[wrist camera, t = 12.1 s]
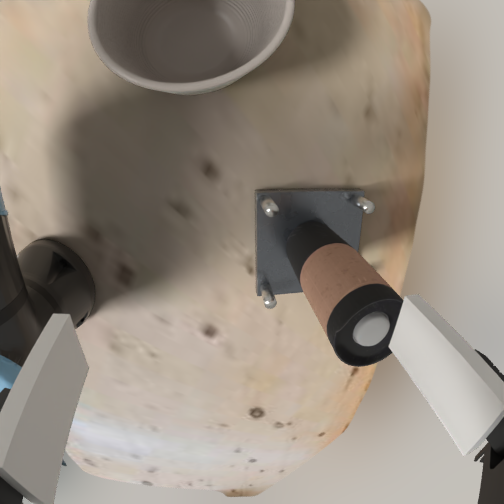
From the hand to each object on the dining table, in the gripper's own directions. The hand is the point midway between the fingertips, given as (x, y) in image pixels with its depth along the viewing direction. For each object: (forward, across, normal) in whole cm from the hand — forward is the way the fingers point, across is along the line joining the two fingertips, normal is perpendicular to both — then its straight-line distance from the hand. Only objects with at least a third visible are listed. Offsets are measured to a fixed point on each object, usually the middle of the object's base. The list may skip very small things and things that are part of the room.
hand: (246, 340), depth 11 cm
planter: (+31, -3, +18) cm, 36 cm away
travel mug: (+29, +13, -8) cm, 33 cm away
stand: (+30, +13, -8) cm, 34 cm away
